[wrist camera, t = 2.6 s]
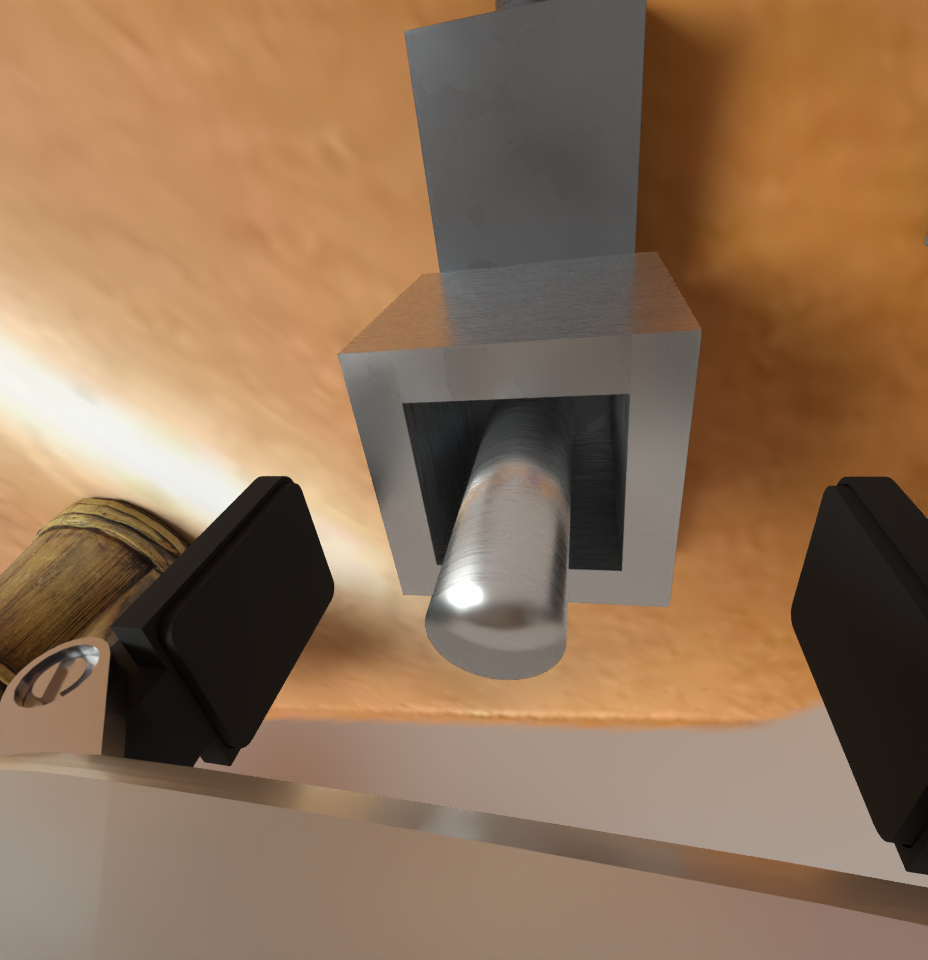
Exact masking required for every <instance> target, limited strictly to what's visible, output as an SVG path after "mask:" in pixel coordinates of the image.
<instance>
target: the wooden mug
mask: <svg viewBox="0 0 928 960" xmlns="http://www.w3.org/2000/svg"><path fill="white" fill-rule="evenodd" d="M188 547H189V546H188V545H187V543H186V542H185V541H184V539H183V538H182V537H181V536H180V535H179V534H178V533H176V532H175V531H174V530H172V529H171V528H170V527H168V526H167V525H166V524H165V523H163V522H162V521H160V520H158V519H156V518H155V517H153V516H151V515H149V514H148V513H146V512H144V511H142V510H141V509H138V508H136V507H133V506H131V505H128V504H126V503H123V502H121V501H118V500H107V499H91V498H83V499H81V500H79V501H77V502H76V503H74V504H72V505H71V506H69V507H68V508H67V509H65V510H64V511H63V512H61V513H60V514H59V515H58V516H56V517H55V518H54V519H53V520H52V521H50V522H49V523H48V524H47V525H45V526H44V527H43V528H42V529H40V530H39V531H38V533H37V535H36V536H35V538H34V540H33V542H32V544H31V545H30V546H29V547H28V548H27V549H26V550H25V551H24V552H23V553H22V554H21V555H20V556H19V557H18V558H17V559H16V560H15V561H14V562H13V563H12V564H11V565H10V566H9V567H8V568H7V569H6V570H5V571H4V572H3V573H2V574H1V575H0V702H1V698H2V696H3V694H4V692H5V690H6V688H7V686H8V685H9V683H10V682H11V681H12V680H13V679H14V678H15V676H16V675H17V674H18V673H19V672H20V671H21V670H22V669H24V668H25V667H26V666H27V665H28V664H29V663H31V662H32V661H33V660H35V659H36V658H38V657H39V656H41V655H42V654H44V653H45V652H47V651H49V650H51V649H53V648H55V647H57V646H59V645H61V644H63V643H66V642H69V641H72V640H75V639H79V638H87V637H95V638H101V639H103V640H104V641H106V642H107V643H108V644H109V645H110V647H112V646H113V645H114V644H115V643H116V642H117V641H118V640H119V639H118V637H117V636H116V634H115V633H114V632H113V630H112V629H111V627H110V626H111V625H112V624H113V623H114V622H115V621H116V620H117V619H118V618H119V617H120V616H121V615H122V614H123V613H124V612H125V611H126V610H127V609H128V608H129V607H130V605H131V604H132V603H133V602H134V601H135V600H136V599H137V598H138V597H139V596H140V595H141V594H142V593H143V592H144V591H145V590H146V589H147V588H148V587H149V586H150V585H151V584H152V583H153V582H154V581H155V580H156V579H157V578H158V577H159V576H160V575H161V574H162V573H163V572H164V571H165V570H166V569H167V568H168V567H169V566H170V565H171V564H172V563H173V562H174V561H175V560H176V559H177V558H178V557H179V556H180V555H181V554H182V553H183V552H184V551H185V550H186V549H187V548H188Z"/></svg>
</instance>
